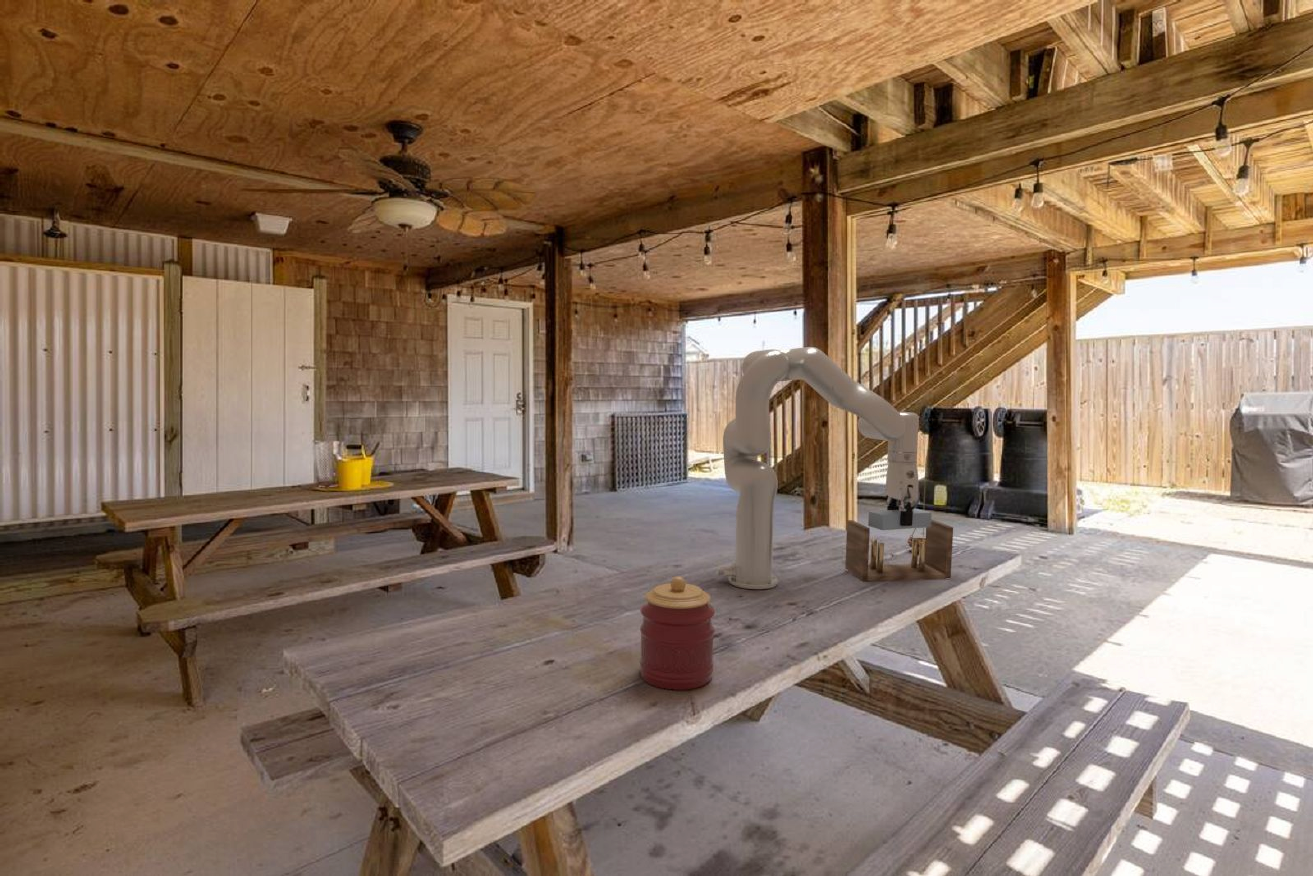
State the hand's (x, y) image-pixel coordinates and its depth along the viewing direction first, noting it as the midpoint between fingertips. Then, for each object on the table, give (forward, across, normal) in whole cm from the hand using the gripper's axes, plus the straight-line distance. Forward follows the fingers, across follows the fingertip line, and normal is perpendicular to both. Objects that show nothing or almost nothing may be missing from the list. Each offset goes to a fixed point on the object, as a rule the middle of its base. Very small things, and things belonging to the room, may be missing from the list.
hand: (899, 522), depth 188 cm
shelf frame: (+14, 0, 0) cm, 14 cm away
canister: (+15, -59, +71) cm, 93 cm away
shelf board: (+1, 0, 0) cm, 1 cm away
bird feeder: (+15, +23, -20) cm, 34 cm away
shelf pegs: (+13, 0, 0) cm, 13 cm away
